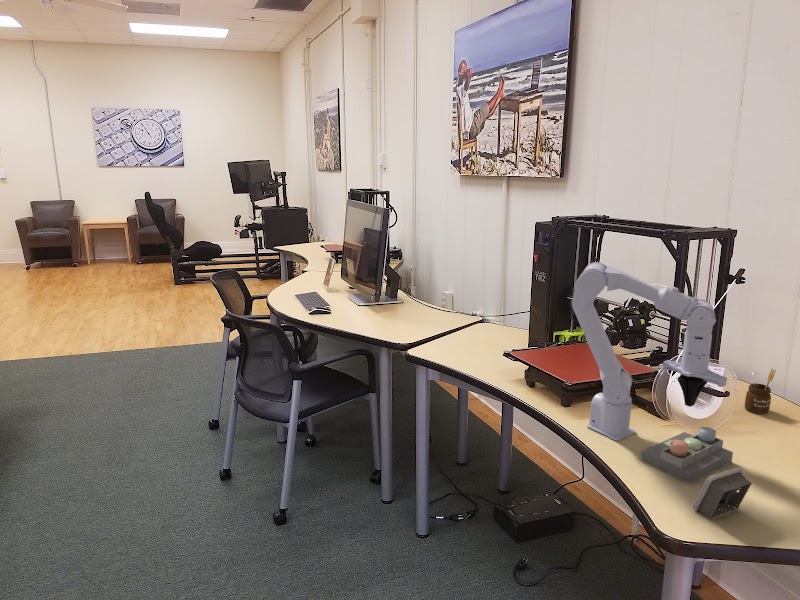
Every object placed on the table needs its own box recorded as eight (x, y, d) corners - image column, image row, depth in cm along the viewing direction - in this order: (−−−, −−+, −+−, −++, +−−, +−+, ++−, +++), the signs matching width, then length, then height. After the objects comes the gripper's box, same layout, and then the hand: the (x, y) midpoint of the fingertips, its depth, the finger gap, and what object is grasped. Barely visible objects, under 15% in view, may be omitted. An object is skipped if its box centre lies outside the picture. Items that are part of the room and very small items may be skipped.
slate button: (694, 438, 138) (695, 429, 138) (703, 434, 140) (704, 425, 140) (709, 444, 136) (710, 435, 135) (718, 440, 137) (719, 431, 137)
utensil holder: (739, 406, 165) (745, 366, 162) (760, 405, 166) (766, 365, 163) (752, 415, 160) (759, 374, 157) (775, 414, 160) (781, 373, 157)
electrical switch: (723, 499, 122) (733, 461, 119) (745, 514, 118) (756, 475, 115) (690, 510, 119) (699, 471, 116) (712, 527, 114) (722, 487, 111)
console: (641, 460, 137) (643, 443, 136) (683, 441, 146) (685, 424, 145) (689, 484, 128) (691, 465, 126) (731, 461, 136) (734, 444, 135)
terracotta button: (665, 452, 133) (667, 442, 132) (675, 447, 134) (676, 438, 134) (680, 458, 130) (681, 449, 129) (690, 454, 132) (691, 444, 131)
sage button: (679, 449, 136) (681, 440, 135) (689, 445, 138) (690, 436, 137) (694, 456, 133) (696, 446, 132) (703, 452, 135) (705, 442, 134)
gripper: (658, 347, 142) (652, 399, 146) (718, 364, 131) (711, 420, 134) (674, 341, 146) (668, 392, 150) (734, 357, 135) (726, 411, 138)
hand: (689, 404), depth 142 cm, fingers closed
